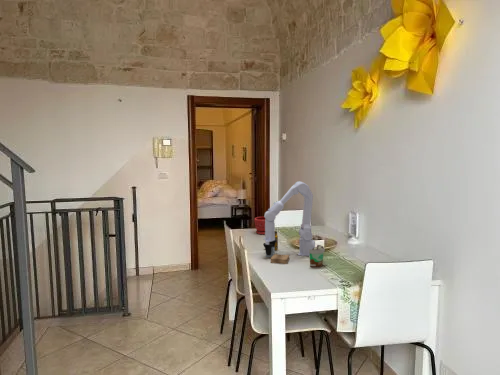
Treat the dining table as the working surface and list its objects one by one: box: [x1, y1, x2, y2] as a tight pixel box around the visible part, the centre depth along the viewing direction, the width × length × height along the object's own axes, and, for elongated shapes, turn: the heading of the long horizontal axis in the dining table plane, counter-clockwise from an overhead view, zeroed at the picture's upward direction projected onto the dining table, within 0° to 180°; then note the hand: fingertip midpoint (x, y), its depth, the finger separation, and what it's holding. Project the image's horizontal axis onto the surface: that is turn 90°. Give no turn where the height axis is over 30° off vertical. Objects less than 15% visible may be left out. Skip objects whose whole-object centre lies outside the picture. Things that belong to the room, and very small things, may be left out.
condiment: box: [263, 230, 281, 252], centre depth 231 cm, size 7×8×12 cm
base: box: [270, 253, 290, 265], centre depth 208 cm, size 9×9×2 cm
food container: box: [309, 244, 326, 268], centre depth 199 cm, size 12×6×10 cm, turn 148°
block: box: [265, 247, 276, 258], centre depth 219 cm, size 4×4×5 cm
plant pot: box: [253, 216, 265, 236], centre depth 278 cm, size 13×13×12 cm
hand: (270, 253), depth 219 cm, fingers open, 7 cm apart
